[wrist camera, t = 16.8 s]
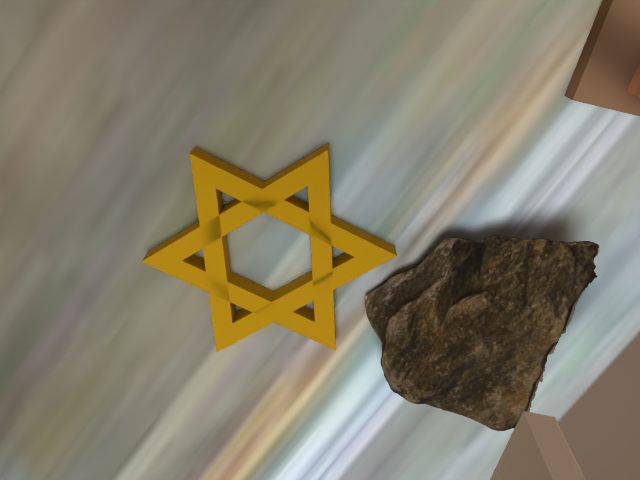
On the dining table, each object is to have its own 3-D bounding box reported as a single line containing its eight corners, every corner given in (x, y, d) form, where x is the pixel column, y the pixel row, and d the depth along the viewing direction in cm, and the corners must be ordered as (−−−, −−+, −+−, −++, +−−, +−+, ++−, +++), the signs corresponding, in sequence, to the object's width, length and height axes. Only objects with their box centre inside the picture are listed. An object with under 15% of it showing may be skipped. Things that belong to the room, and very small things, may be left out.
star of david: (222, 86, 42) (216, 92, 40) (427, 193, 45) (431, 203, 43) (128, 296, 50) (119, 310, 47) (309, 375, 53) (308, 392, 51)
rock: (560, 220, 49) (396, 181, 46) (637, 255, 40) (439, 209, 37) (493, 405, 53) (338, 381, 50) (549, 475, 44) (363, 451, 41)
